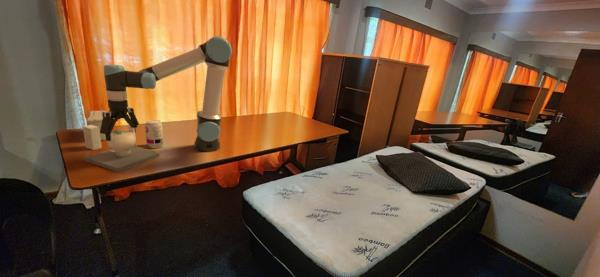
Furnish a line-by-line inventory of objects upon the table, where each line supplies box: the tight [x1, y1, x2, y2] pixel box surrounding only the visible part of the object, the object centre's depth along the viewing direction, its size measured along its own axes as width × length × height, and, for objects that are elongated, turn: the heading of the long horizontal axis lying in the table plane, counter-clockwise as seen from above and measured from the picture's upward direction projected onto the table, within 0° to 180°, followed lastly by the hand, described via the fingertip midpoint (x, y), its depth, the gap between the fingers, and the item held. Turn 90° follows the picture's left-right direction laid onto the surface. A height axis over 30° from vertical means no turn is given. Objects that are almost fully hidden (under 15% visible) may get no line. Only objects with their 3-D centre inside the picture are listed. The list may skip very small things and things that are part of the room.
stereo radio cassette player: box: [86, 106, 107, 141], centre depth 140 cm, size 21×8×20 cm, turn 35°
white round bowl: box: [108, 130, 137, 150], centre depth 118 cm, size 11×11×7 cm
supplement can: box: [144, 119, 164, 149], centre depth 137 cm, size 8×8×15 cm
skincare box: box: [82, 124, 102, 151], centre depth 126 cm, size 6×4×12 cm
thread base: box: [83, 145, 161, 173], centre depth 120 cm, size 22×22×7 cm
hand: (122, 142), depth 118 cm, fingers closed on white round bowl, 11 cm apart
